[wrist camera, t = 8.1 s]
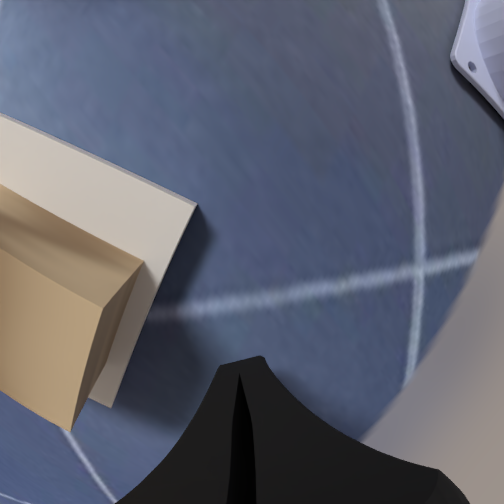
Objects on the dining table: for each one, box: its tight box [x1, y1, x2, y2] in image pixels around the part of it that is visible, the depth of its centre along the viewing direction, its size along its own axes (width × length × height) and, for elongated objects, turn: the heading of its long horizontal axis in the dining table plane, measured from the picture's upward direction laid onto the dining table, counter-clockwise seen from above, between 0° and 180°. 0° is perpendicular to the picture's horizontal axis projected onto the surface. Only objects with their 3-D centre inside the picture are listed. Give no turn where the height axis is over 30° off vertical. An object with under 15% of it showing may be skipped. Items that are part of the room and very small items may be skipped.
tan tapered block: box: [0, 184, 144, 432], centre depth 7 cm, size 7×4×4 cm, turn 63°
